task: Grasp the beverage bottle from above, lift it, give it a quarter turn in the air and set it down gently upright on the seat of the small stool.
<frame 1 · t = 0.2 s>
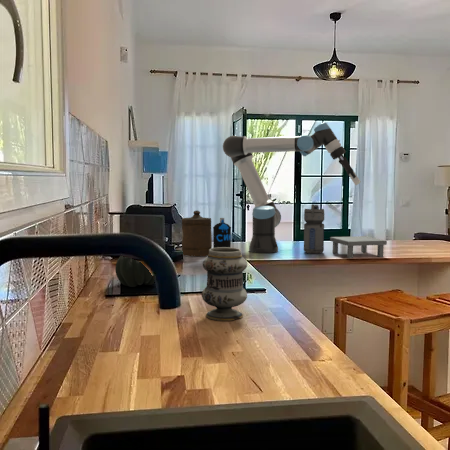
hand: (358, 183, 249), 35 cm above the worktop, tool tilted 35°, fingers open, 13 cm apart
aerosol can: (222, 262, 216), on the worktop
wooden container: (196, 254, 241), on the worktop
apothecary jar: (224, 316, 129), on the worktop
beverage bottle: (313, 252, 248), on the worktop
stool: (357, 254, 240), on the worktop
squash: (137, 285, 168), on the worktop
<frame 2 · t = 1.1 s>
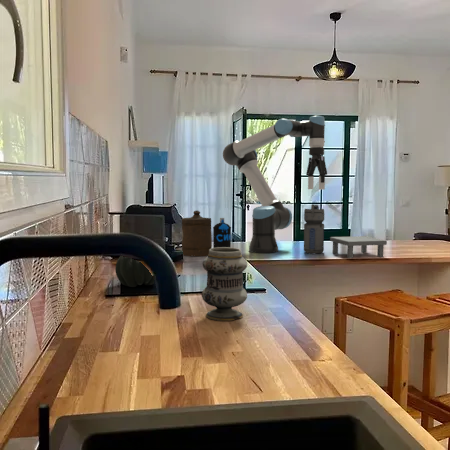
hand: (316, 189, 246), 32 cm above the worktop, tool pointing down, fingers open, 13 cm apart
nothing on the worktop moved.
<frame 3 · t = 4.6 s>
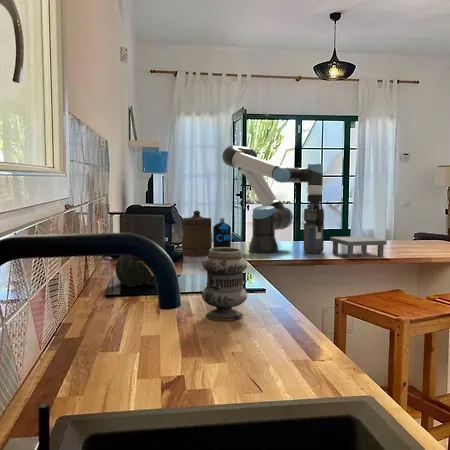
hand: (314, 237, 247), 8 cm above the worktop, tool pointing down, fingers closed on beverage bottle, 10 cm apart
beverage bottle: (313, 252, 249), on the worktop, touching gripper
everything else where it was.
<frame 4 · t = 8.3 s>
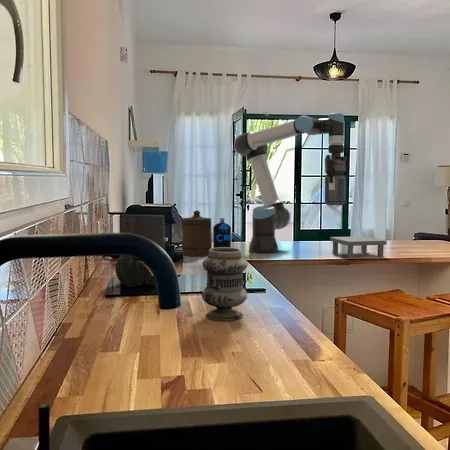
hand: (336, 189, 241), 32 cm above the worktop, tool pointing down, fingers closed on beverage bottle, 10 cm apart
beverage bottle: (336, 205, 242), point 24 cm above the worktop, touching gripper
everything else where it was.
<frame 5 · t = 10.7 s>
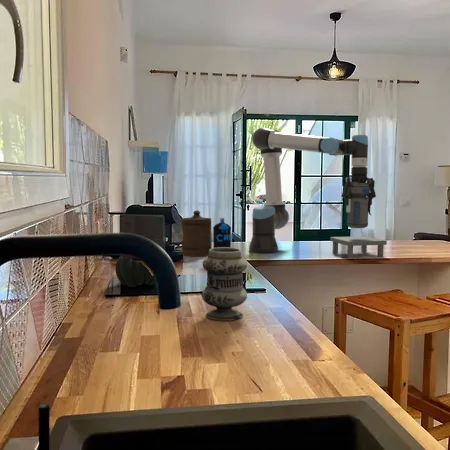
hand: (358, 212, 238), 21 cm above the worktop, tool pointing down, fingers closed on beverage bottle, 10 cm apart
beverage bottle: (359, 227, 239), point 13 cm above the worktop, touching gripper
everything else where it was.
when the fingers open (17 cm above the worktop, at t = 12.5 s): beverage bottle stays where it is, resting on stool.
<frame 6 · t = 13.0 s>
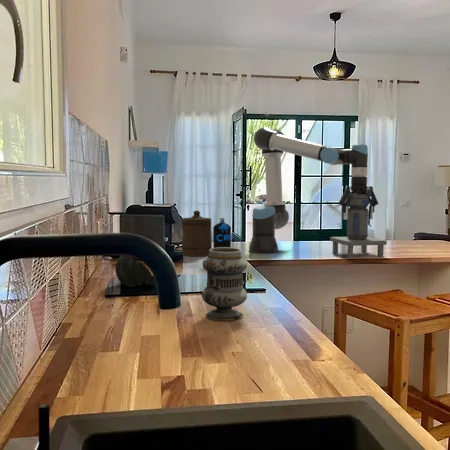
hand: (358, 219, 239), 18 cm above the worktop, tool pointing down, fingers open, 13 cm apart
beverage bottle: (358, 239, 240), point 8 cm above the worktop, touching stool
everything else where it was.
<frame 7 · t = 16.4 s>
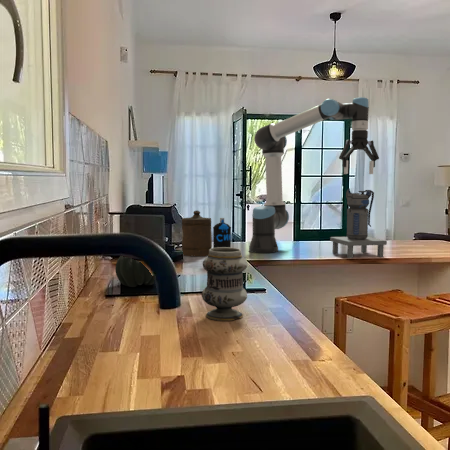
hand: (358, 174, 237), 40 cm above the worktop, tool pointing down, fingers open, 13 cm apart
nothing on the worktop moved.
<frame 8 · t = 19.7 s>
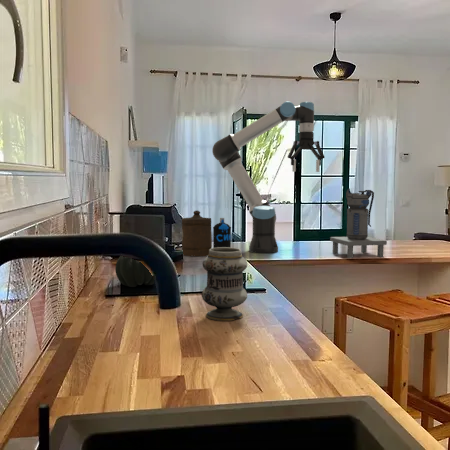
hand: (305, 171, 259), 42 cm above the worktop, tool pointing down, fingers open, 13 cm apart
nothing on the worktop moved.
at the end: beverage bottle inside the target area on the stool (0.6 cm from its centre), point 7.8 cm above the stool's base; beverage bottle tilted 0°; the gripper is holding nothing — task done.
